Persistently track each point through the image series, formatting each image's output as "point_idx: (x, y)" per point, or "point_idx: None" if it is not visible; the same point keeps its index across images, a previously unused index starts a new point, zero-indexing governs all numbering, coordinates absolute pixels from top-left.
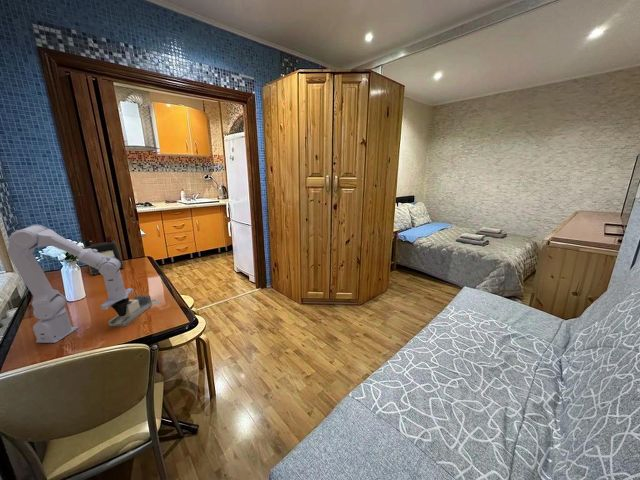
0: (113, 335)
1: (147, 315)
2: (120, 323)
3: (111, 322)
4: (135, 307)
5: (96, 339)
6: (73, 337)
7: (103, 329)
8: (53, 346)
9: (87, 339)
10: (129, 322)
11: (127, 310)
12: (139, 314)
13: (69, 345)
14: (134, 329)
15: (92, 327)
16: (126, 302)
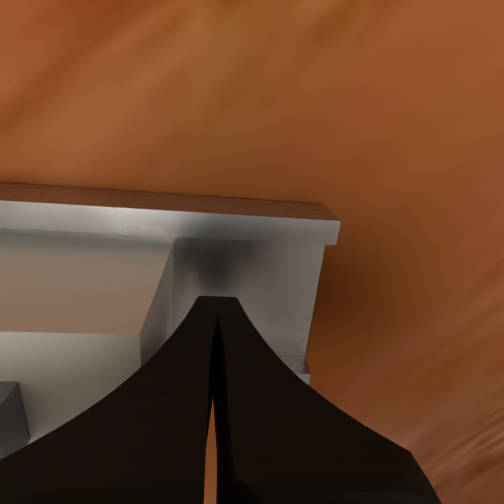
0: (464, 216)
1: (73, 62)
2: (313, 265)
3: (292, 360)
4: (14, 270)
5: (482, 318)
6: None
7: (339, 364)
8: (474, 496)
9: (459, 379)
10: (255, 200)
11: (157, 312)
12: (76, 189)
13: (497, 432)
14: (406, 39)
15: None
16: (150, 434)
